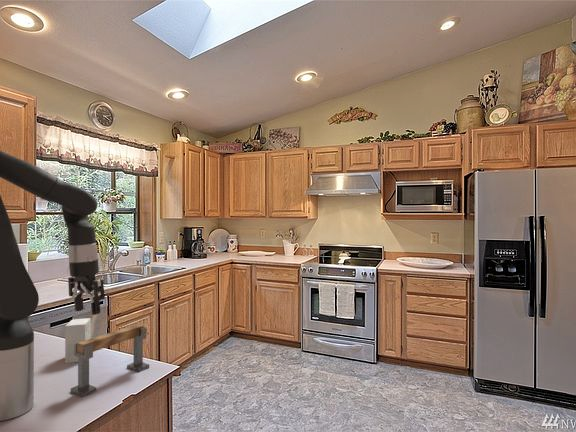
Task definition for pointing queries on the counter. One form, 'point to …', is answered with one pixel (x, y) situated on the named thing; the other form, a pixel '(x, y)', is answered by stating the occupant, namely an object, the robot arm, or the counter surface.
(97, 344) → the tan wooden bar
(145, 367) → the grey support rack
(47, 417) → the counter surface
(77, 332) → the small box
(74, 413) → the counter surface
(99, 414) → the counter surface
